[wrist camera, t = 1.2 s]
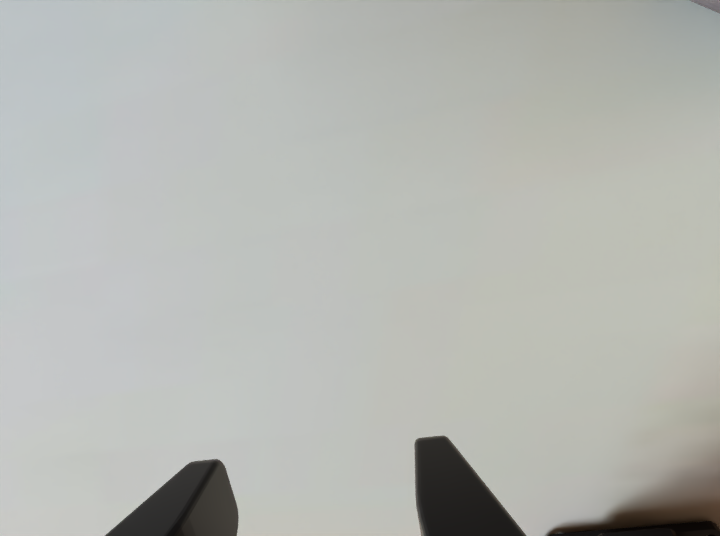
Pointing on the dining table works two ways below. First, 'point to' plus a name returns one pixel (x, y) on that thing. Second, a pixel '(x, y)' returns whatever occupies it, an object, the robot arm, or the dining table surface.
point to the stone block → (709, 4)
